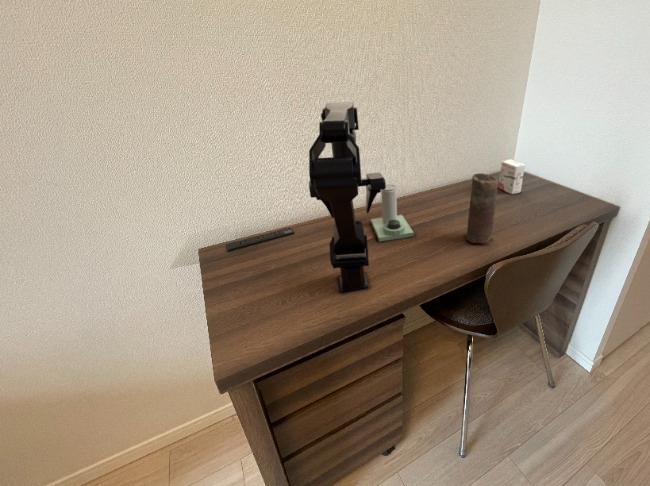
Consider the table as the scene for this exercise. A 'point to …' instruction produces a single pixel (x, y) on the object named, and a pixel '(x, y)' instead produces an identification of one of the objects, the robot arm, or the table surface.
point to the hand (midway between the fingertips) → (350, 214)
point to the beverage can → (389, 203)
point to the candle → (482, 208)
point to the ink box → (511, 176)
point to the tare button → (393, 224)
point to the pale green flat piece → (390, 234)
